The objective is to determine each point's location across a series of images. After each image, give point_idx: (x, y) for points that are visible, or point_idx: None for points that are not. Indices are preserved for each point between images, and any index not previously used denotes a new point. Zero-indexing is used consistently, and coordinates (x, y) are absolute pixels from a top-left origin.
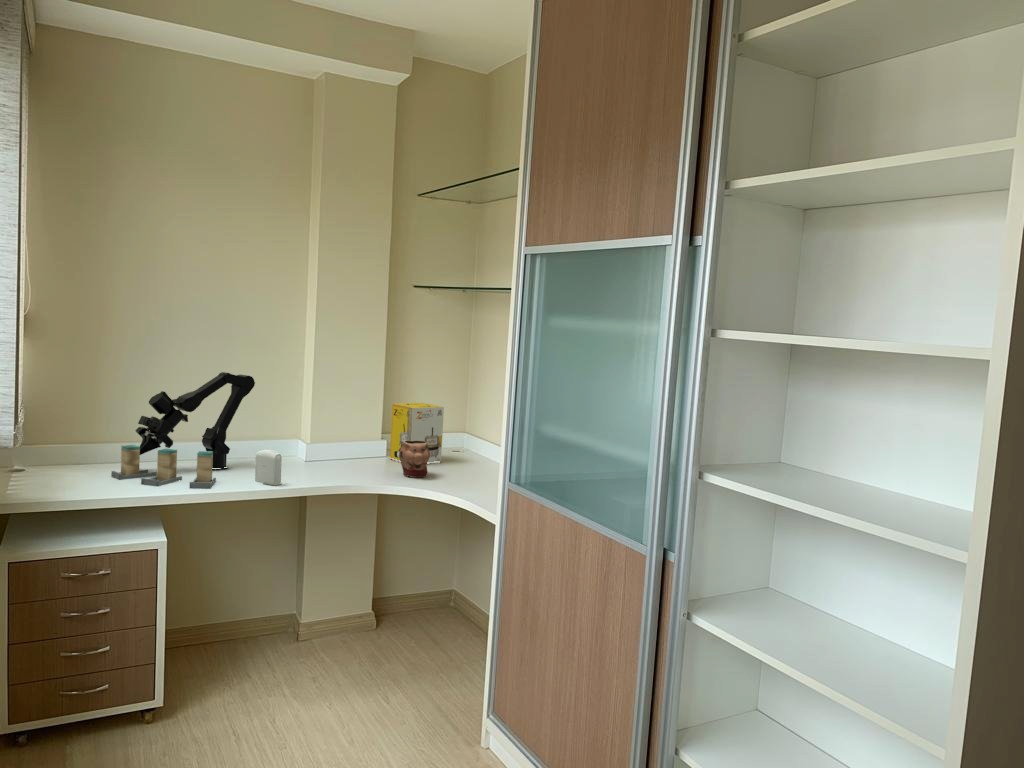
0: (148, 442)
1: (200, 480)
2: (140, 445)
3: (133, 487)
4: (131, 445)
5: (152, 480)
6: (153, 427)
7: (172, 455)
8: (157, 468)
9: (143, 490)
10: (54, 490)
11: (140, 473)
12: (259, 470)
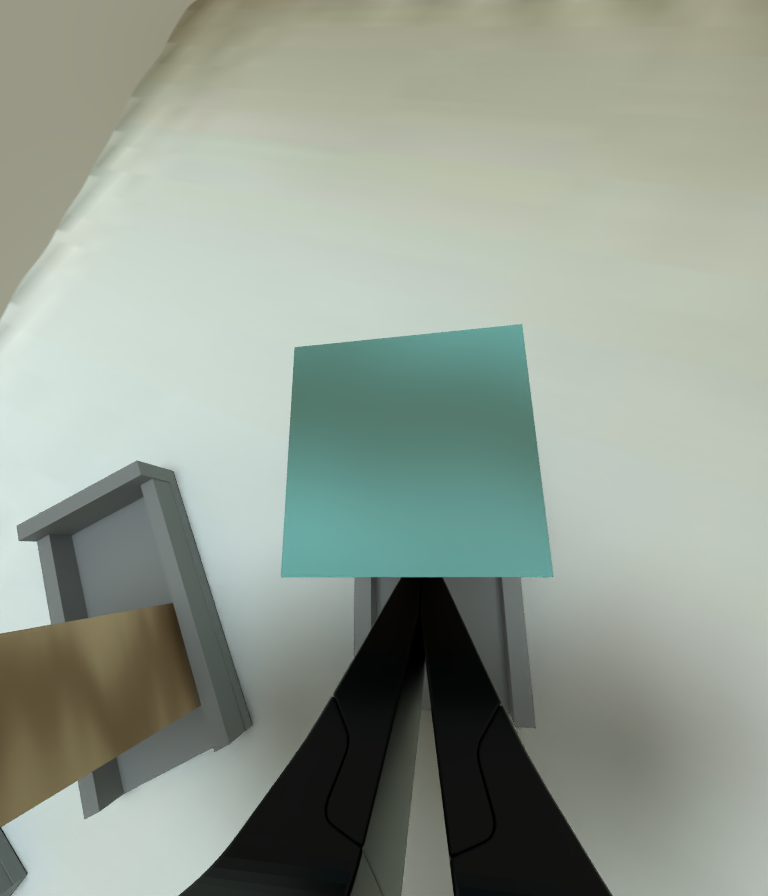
0: (247, 869)
1: None
2: (482, 698)
3: (161, 417)
4: (481, 490)
5: (60, 504)
6: None
7: None
8: (99, 617)
9: (69, 433)
10: (323, 112)
11: (503, 633)
12: None
